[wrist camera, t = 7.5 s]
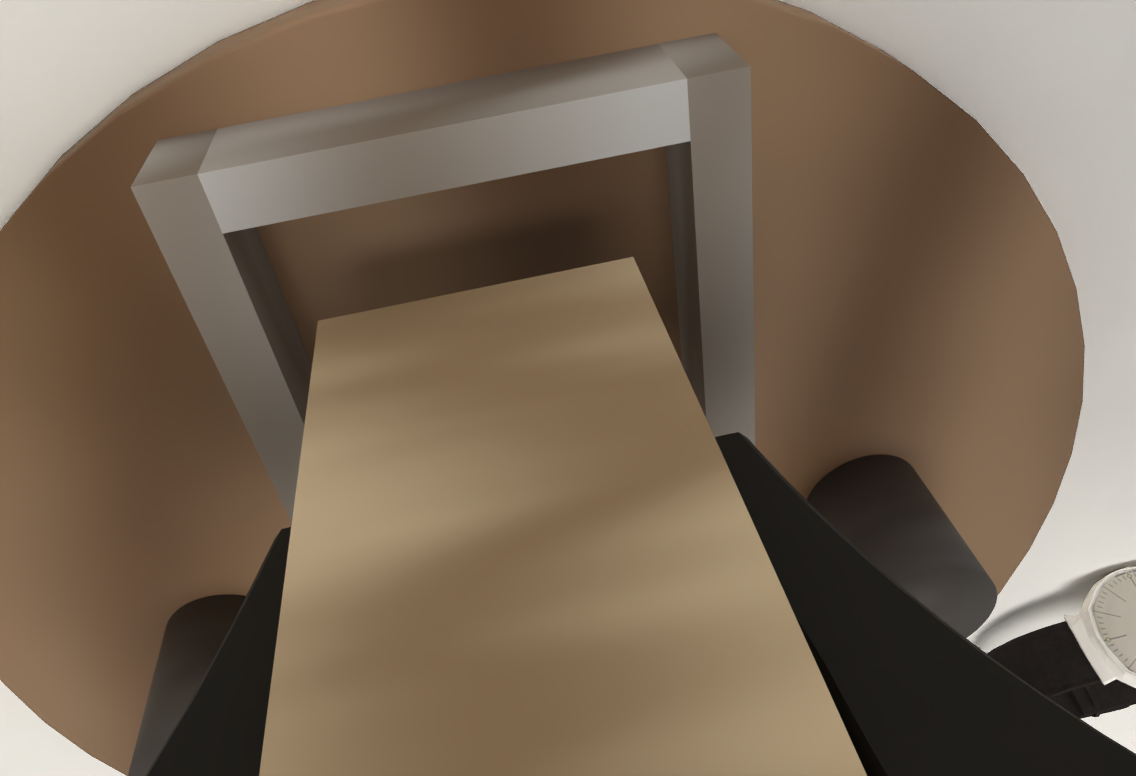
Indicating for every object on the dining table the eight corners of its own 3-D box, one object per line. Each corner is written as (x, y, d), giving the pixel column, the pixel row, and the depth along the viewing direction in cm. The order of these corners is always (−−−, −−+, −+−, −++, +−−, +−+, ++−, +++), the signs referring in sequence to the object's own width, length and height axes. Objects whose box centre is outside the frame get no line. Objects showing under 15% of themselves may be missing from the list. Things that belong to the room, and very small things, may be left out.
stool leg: (633, 256, 11) (950, 960, 5) (657, 483, 14) (888, 1150, 7) (318, 320, 11) (212, 1139, 5) (400, 539, 13) (405, 1269, 7)
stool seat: (1194, -173, 12) (1470, -137, 9) (971, 708, 26) (1051, 845, 23) (-417, 131, 11) (-727, 284, 8) (222, 877, 25) (197, 1044, 22)
